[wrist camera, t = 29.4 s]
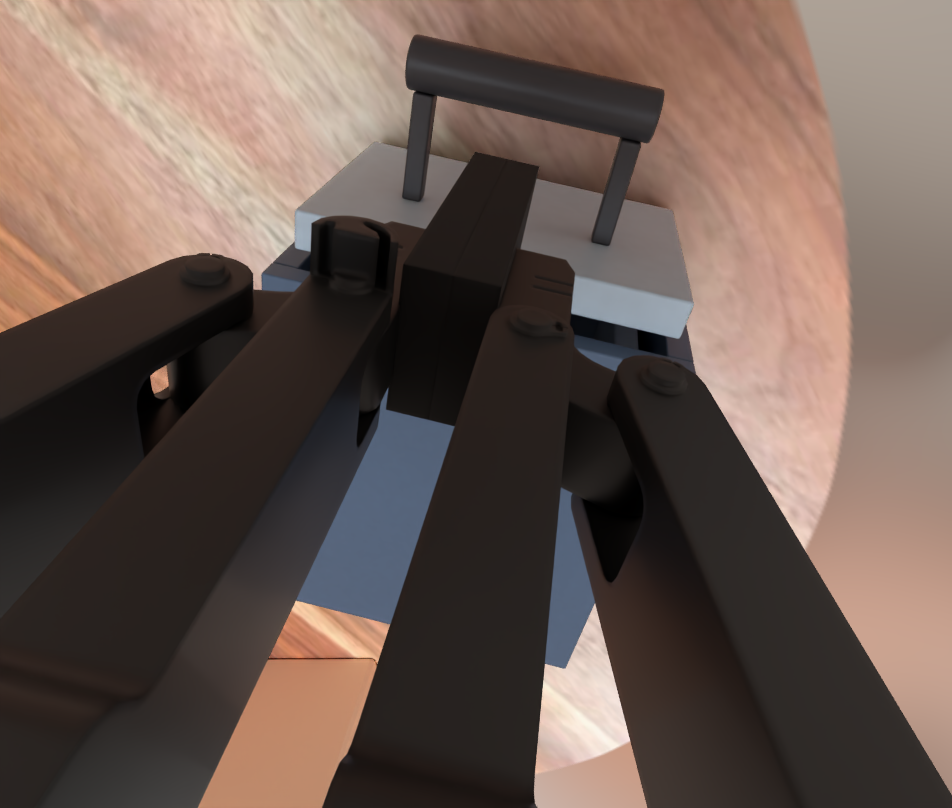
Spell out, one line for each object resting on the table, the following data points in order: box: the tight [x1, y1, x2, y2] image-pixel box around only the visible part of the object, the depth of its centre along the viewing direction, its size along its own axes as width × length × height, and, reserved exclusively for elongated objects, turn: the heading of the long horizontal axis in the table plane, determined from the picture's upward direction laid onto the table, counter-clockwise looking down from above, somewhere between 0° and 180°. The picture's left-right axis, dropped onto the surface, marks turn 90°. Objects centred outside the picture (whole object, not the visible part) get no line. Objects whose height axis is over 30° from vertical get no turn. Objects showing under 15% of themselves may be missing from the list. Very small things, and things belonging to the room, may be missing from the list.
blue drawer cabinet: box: [262, 242, 696, 668], centre depth 27 cm, size 15×13×10 cm
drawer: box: [295, 34, 694, 350], centre depth 24 cm, size 18×11×8 cm, turn 170°
